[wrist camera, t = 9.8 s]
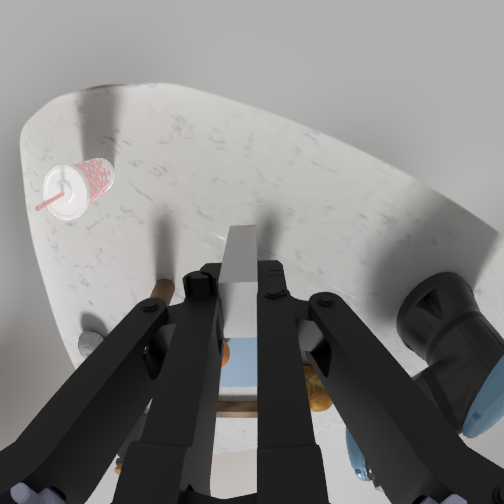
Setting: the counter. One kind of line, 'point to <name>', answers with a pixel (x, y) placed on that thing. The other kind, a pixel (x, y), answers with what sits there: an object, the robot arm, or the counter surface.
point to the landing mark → (240, 363)
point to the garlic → (88, 342)
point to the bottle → (133, 436)
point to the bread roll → (316, 391)
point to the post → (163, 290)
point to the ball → (225, 354)
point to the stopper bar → (237, 409)
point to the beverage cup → (75, 187)
